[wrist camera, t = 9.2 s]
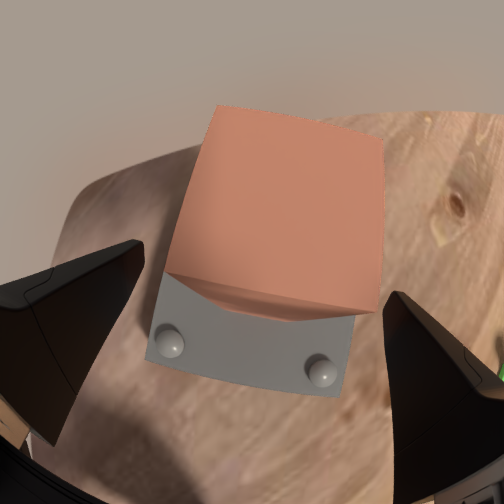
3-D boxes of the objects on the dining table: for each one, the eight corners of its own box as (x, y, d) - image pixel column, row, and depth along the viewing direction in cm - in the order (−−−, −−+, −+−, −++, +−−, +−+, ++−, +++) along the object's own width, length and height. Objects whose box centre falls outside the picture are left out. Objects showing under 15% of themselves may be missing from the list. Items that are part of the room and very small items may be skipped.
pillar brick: (286, 322, 17) (377, 312, 5) (224, 309, 18) (163, 271, 5) (297, 261, 18) (382, 139, 6) (237, 249, 19) (217, 104, 6)
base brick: (327, 388, 19) (341, 399, 16) (158, 355, 19) (141, 360, 16) (352, 227, 22) (368, 211, 19) (196, 197, 23) (188, 176, 19)
